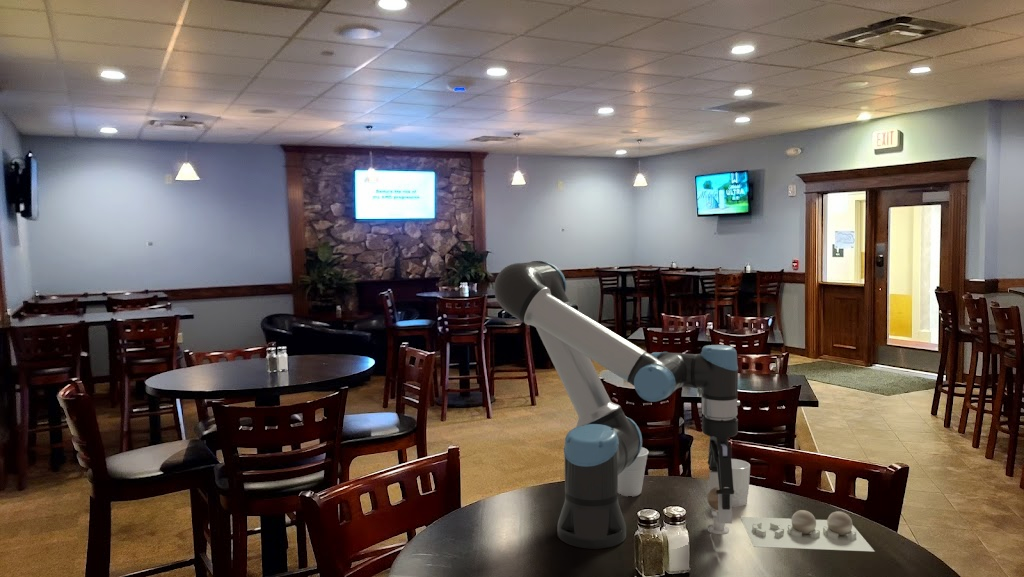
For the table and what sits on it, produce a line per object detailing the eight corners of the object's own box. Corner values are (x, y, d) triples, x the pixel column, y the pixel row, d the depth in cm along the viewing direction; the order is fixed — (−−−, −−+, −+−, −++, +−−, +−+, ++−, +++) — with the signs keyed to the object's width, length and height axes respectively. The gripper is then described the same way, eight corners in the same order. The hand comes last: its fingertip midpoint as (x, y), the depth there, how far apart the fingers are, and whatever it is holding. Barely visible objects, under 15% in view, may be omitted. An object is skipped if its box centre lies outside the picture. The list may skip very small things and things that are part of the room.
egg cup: (710, 536, 159) (710, 512, 159) (707, 528, 164) (707, 504, 163) (730, 537, 159) (730, 512, 158) (727, 528, 163) (727, 505, 163)
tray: (754, 549, 152) (754, 541, 152) (740, 519, 168) (740, 512, 168) (874, 554, 149) (875, 546, 149) (849, 523, 165) (849, 516, 165)
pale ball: (831, 538, 156) (831, 516, 155) (824, 529, 161) (824, 507, 160) (855, 539, 155) (856, 517, 155) (847, 530, 160) (848, 508, 160)
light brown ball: (709, 513, 159) (709, 491, 158) (705, 505, 164) (706, 483, 163) (732, 514, 158) (732, 492, 158) (728, 505, 163) (729, 484, 162)
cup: (609, 498, 182) (608, 456, 181) (610, 485, 192) (610, 444, 191) (649, 500, 181) (649, 457, 180) (648, 486, 190) (648, 445, 190)
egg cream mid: (794, 537, 157) (794, 514, 156) (788, 528, 162) (789, 506, 161) (818, 538, 156) (819, 515, 156) (812, 528, 161) (812, 506, 160)
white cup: (745, 498, 182) (746, 458, 181) (753, 509, 174) (753, 469, 173) (713, 497, 182) (713, 458, 182) (719, 509, 175) (719, 468, 174)
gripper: (748, 431, 146) (748, 534, 148) (728, 403, 171) (728, 491, 172) (710, 431, 147) (710, 533, 149) (695, 402, 172) (696, 490, 173)
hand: (720, 510), depth 161 cm, fingers open, 13 cm apart
